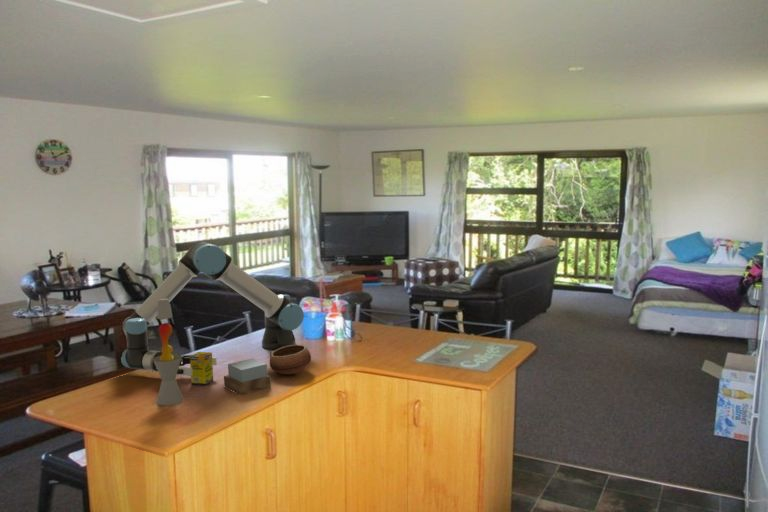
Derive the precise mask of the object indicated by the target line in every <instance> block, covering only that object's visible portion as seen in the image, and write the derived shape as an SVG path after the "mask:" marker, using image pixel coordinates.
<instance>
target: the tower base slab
mask: <svg viewBox="0 0 768 512" xmlns="http://www.w3.org/2000/svg"><path fill="white" fill-rule="evenodd" d="M223 383H224V384H223V385H224V386H225V387H224V388H226V389H227V390H229V389H230V391H231V390H232V391H231V392H233V391H234V393H235V392H236V393H235V394H237V393H238V394H237V395H239V396H243V395H247V394H249V393H250V394H251V393H253V392H254V393H255V392H257V390H258V391H261V389H262V390H265V389H269V388H271V376H270V375H269V374H267V376H266V377H262V378H258V379H254V380H250V381H246V382H240V381H238V380H236V379H233V378H231V377H229V374H227V375H224V376H223ZM264 388H265V389H264ZM246 393H247V394H246ZM242 394H243V395H242Z"/></svg>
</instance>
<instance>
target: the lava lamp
mask: <svg viewBox="0 0 768 512" xmlns="http://www.w3.org/2000/svg"><path fill="white" fill-rule="evenodd" d="M173 316H174V315H173V312H172V307H171V304H170V302H169V300H168V299H160V300H159V303H158V313H157V316H156V319H158V320H166V319H171V318H173ZM172 333H173V327H172V325H171V324H169V323H162V324H161V325H160V326H159V327H158V334H159V337H160V339H161V347H162V348H161V352H162V355H161V356H157V357H155V358H154V359H153V361H154V363H155V365H156V368H157V370H158V371H157V372H158V374H159V377H160V379H161V383H160V386H159V390H158V395H157V398H156V404H157V405H160V406H171V405H176V404H179V403H182V402H183V401H184V397H183V394H182V392H181V389H180V386H179V385H178V381H177V379H176V377H177V376H178V374H177V371H178V368H179V367H180V366H179V364H180V361H181V357H182V356H181V355H182V354H179V353H178V354H177V353H173V352H174V351H173V350H174V349H173V346H172V345H170V344H169V340H170V336H171V335H172Z"/></svg>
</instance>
